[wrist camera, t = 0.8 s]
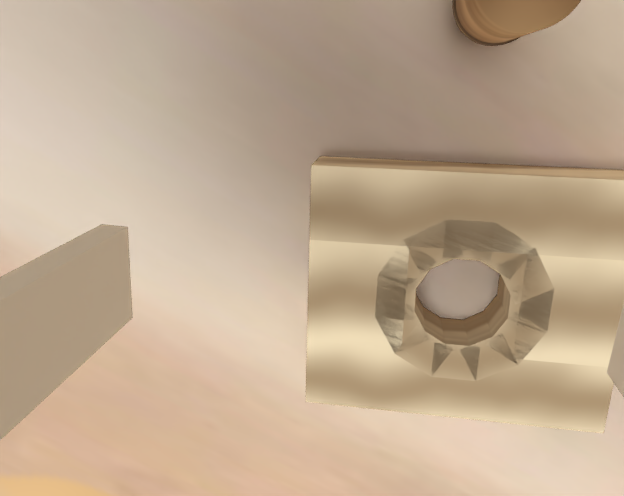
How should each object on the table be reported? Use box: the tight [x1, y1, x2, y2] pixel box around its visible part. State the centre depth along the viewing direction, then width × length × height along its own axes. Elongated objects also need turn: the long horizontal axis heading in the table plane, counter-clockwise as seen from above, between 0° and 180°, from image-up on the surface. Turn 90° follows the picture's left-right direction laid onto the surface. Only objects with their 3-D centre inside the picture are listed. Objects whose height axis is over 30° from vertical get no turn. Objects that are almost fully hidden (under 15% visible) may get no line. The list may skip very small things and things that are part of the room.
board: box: [305, 156, 624, 433], centre depth 36 cm, size 16×19×4 cm
